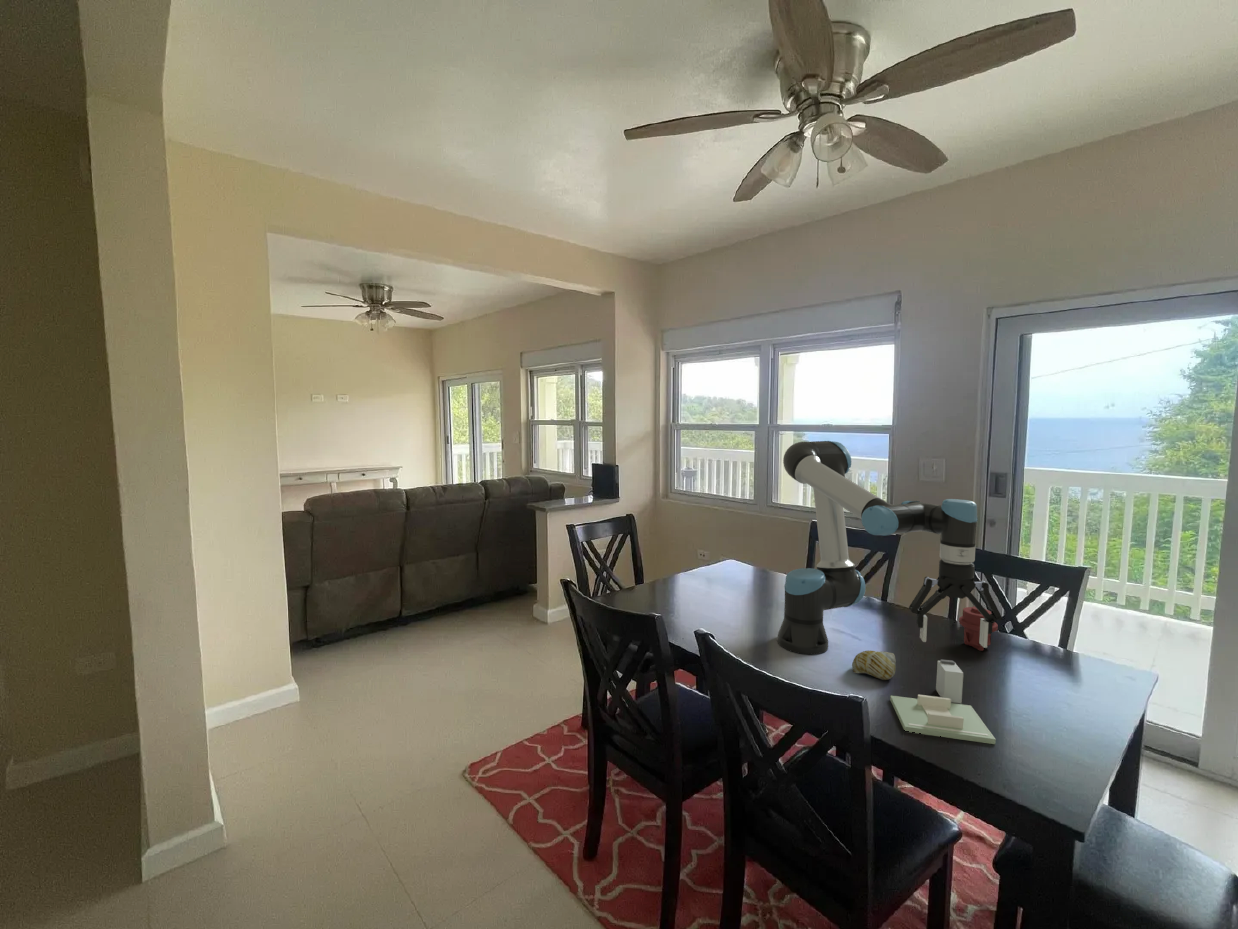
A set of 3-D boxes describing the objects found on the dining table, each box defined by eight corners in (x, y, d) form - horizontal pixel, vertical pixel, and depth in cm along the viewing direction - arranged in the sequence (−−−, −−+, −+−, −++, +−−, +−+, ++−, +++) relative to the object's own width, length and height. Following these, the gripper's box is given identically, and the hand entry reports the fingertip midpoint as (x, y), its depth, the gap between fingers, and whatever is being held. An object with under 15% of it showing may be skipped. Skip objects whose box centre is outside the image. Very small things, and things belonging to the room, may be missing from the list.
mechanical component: (986, 641, 169) (1002, 654, 159) (952, 638, 171) (966, 651, 161) (989, 604, 168) (1005, 615, 158) (954, 601, 170) (968, 613, 160)
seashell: (843, 664, 151) (859, 633, 151) (872, 679, 152) (888, 649, 151) (859, 680, 141) (877, 647, 141) (890, 696, 142) (908, 663, 141)
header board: (904, 731, 120) (905, 716, 120) (890, 700, 134) (890, 686, 133) (995, 744, 115) (996, 728, 115) (970, 710, 129) (971, 696, 129)
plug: (943, 701, 133) (945, 668, 132) (935, 689, 139) (937, 658, 138) (961, 703, 132) (963, 670, 131) (952, 691, 138) (954, 660, 137)
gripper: (906, 561, 132) (902, 643, 134) (1021, 568, 125) (1016, 654, 127) (898, 554, 139) (895, 632, 141) (1007, 560, 133) (1002, 641, 134)
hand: (952, 642), depth 134 cm, fingers open, 13 cm apart
